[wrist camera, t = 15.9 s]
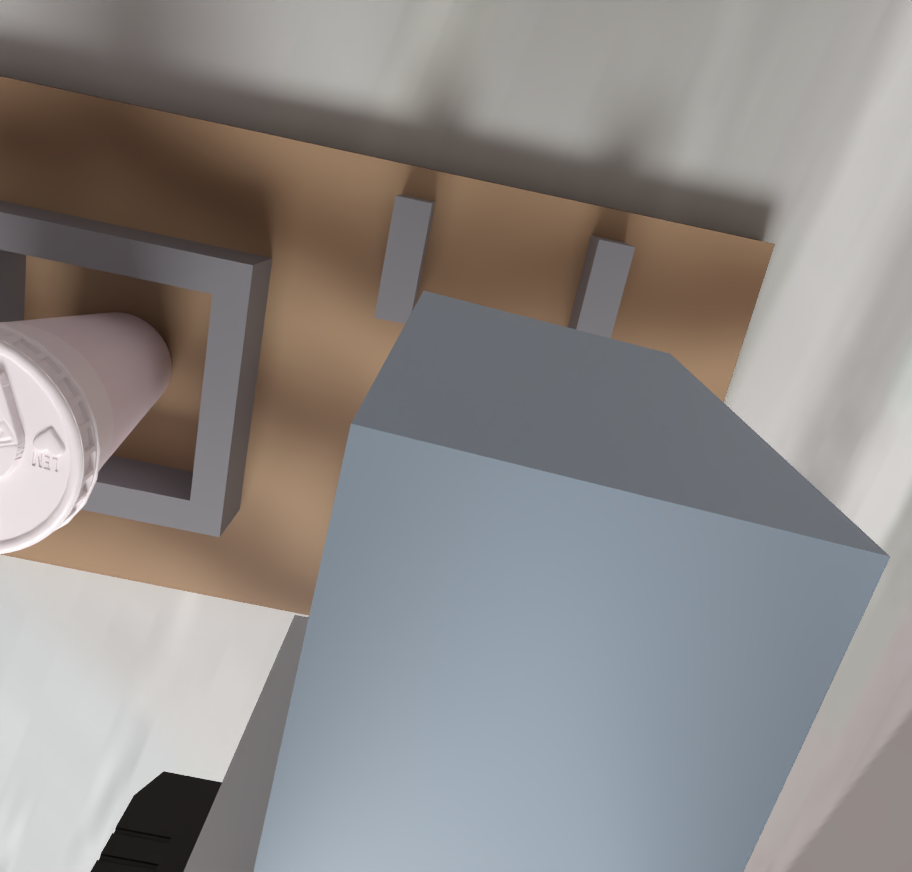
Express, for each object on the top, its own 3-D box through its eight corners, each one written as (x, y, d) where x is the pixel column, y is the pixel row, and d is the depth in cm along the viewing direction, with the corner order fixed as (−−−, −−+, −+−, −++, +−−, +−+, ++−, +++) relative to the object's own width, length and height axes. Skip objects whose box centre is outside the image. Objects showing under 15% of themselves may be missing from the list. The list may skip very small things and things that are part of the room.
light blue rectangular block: (473, 931, 18) (467, 1464, 11) (282, 889, 18) (137, 1402, 11) (670, 353, 14) (889, 556, 6) (423, 290, 14) (350, 423, 6)
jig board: (-14, 73, 28) (-35, 68, 27) (763, 241, 29) (774, 244, 27) (-22, 533, 33) (-40, 546, 32) (628, 662, 34) (633, 679, 33)
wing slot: (401, 194, 27) (395, 195, 25) (624, 242, 28) (635, 247, 26) (330, 597, 32) (320, 623, 30) (520, 635, 33) (522, 663, 31)
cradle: (-7, 199, 28) (-52, 200, 25) (272, 257, 28) (253, 265, 26) (-13, 459, 31) (-53, 482, 29) (239, 509, 31) (219, 537, 29)
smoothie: (240, 347, 29) (40, 491, 16) (151, 475, 31) (-98, 701, 18) (89, 237, 28) (-262, 292, 15) (5, 376, 30) (-378, 537, 16)
